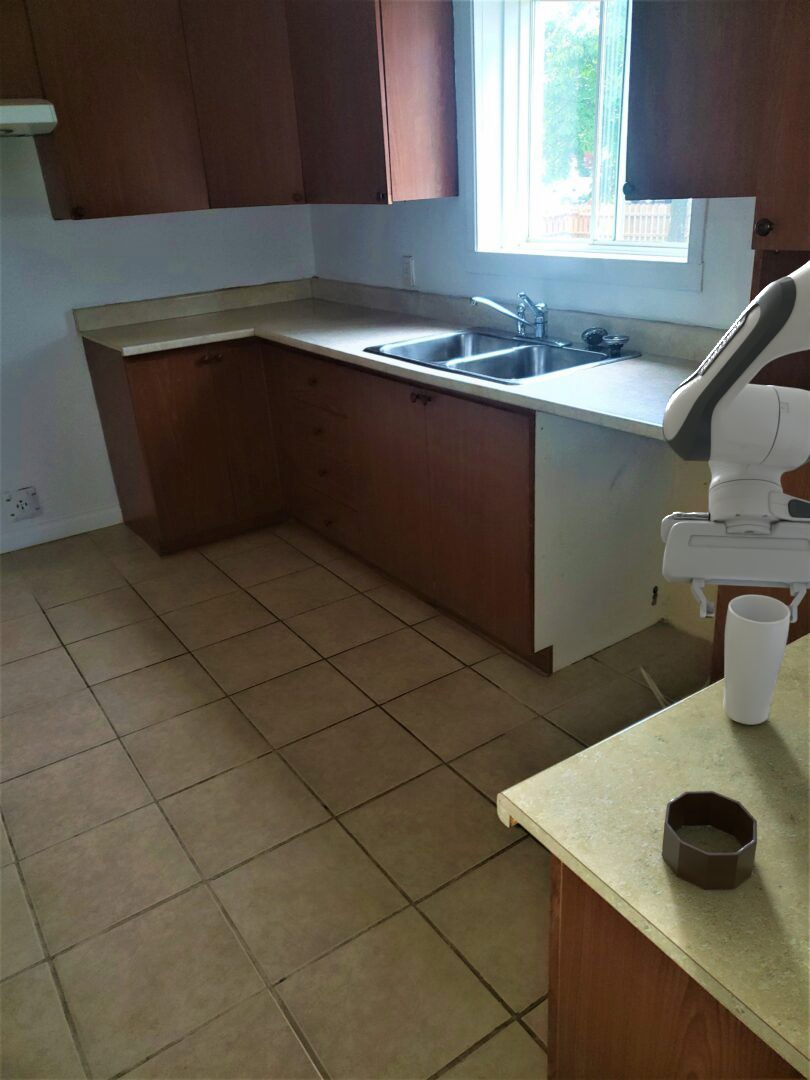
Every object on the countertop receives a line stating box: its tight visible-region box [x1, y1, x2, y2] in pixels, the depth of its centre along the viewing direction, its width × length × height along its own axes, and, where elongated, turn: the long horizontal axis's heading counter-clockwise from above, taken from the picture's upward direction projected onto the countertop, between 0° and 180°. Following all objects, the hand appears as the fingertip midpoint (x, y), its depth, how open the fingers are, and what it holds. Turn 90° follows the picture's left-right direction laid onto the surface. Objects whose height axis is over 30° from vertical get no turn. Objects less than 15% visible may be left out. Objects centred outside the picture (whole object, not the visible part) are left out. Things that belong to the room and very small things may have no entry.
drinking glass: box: [722, 594, 791, 726], centre depth 97 cm, size 7×7×15 cm
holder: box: [661, 790, 758, 891], centre depth 81 cm, size 8×9×4 cm
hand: (747, 619), depth 100 cm, fingers open, 8 cm apart
